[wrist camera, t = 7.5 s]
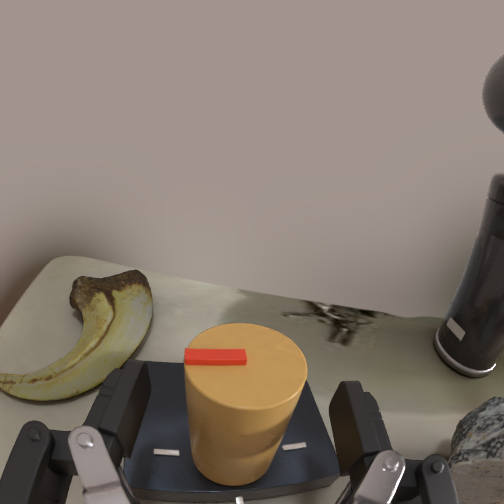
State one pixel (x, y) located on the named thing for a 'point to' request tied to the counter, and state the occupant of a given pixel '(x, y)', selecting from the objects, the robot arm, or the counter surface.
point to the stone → (479, 454)
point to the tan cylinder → (240, 398)
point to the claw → (93, 338)
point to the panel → (183, 467)
